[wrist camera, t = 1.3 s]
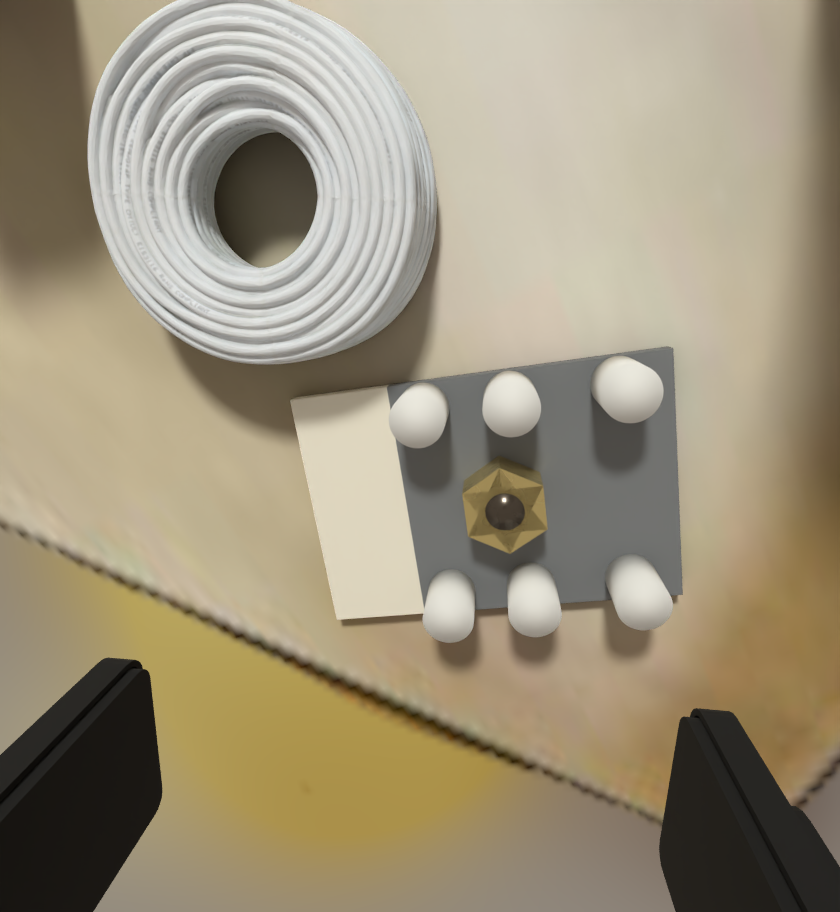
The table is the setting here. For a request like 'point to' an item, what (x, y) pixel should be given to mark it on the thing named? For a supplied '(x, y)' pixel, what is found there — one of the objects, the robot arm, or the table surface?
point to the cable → (216, 138)
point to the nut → (504, 504)
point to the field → (469, 449)
